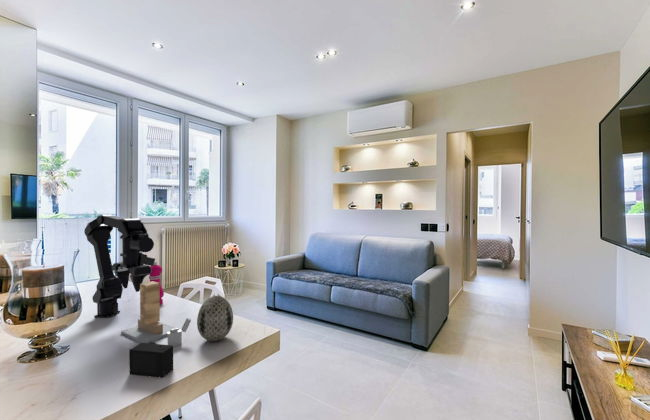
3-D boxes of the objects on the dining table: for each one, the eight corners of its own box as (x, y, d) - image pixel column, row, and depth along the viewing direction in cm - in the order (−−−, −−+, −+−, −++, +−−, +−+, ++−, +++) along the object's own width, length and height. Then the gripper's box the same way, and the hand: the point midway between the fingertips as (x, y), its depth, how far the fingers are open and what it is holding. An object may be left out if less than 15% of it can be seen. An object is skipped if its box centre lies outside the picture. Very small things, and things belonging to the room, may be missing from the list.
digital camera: (176, 367, 84) (176, 343, 84) (163, 378, 79) (163, 352, 79) (144, 364, 86) (144, 340, 86) (129, 374, 81) (129, 349, 81)
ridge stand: (121, 333, 106) (121, 322, 106) (154, 322, 116) (154, 312, 116) (144, 344, 98) (144, 332, 98) (178, 331, 108) (178, 320, 108)
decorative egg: (189, 344, 98) (188, 299, 98) (214, 330, 109) (214, 290, 109) (217, 350, 94) (216, 303, 94) (240, 335, 105) (240, 293, 105)
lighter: (167, 347, 96) (167, 322, 96) (167, 344, 98) (167, 320, 98) (191, 342, 100) (191, 318, 100) (190, 340, 101) (190, 316, 101)
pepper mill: (167, 301, 142) (167, 260, 142) (157, 306, 135) (157, 263, 134) (153, 301, 142) (152, 260, 142) (142, 306, 135) (142, 262, 135)
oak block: (140, 322, 106) (139, 283, 106) (153, 318, 110) (152, 281, 110) (146, 325, 104) (146, 285, 104) (159, 321, 108) (159, 282, 108)
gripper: (164, 249, 118) (165, 288, 118) (140, 246, 128) (140, 282, 128) (135, 253, 109) (135, 295, 109) (111, 249, 118) (111, 288, 119)
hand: (131, 289), depth 116 cm, fingers open, 9 cm apart
